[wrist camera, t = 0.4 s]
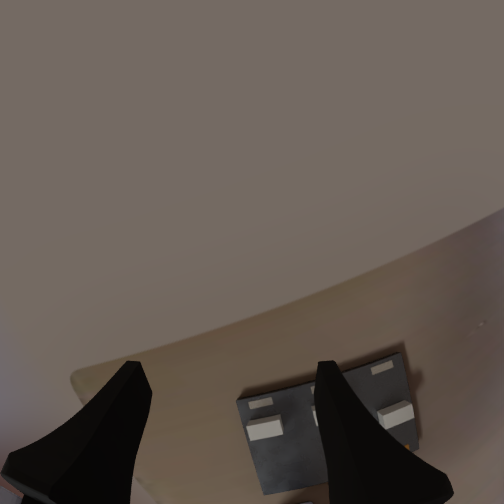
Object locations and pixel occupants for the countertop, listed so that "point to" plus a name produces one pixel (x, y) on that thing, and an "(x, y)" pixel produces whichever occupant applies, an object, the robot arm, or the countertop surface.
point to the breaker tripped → (395, 414)
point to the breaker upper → (265, 427)
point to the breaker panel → (307, 433)
